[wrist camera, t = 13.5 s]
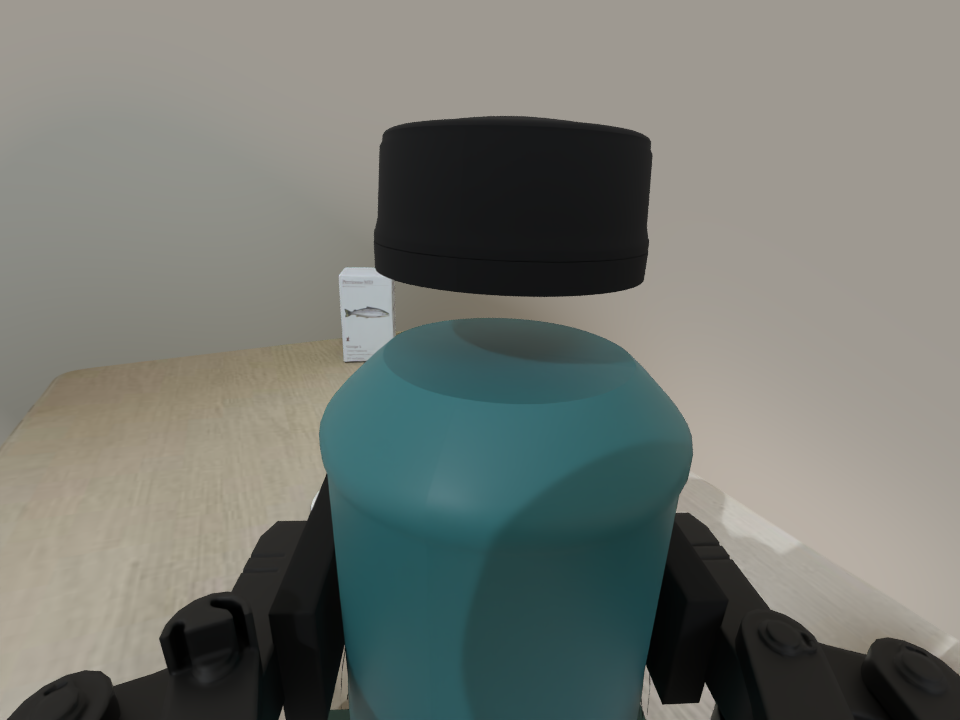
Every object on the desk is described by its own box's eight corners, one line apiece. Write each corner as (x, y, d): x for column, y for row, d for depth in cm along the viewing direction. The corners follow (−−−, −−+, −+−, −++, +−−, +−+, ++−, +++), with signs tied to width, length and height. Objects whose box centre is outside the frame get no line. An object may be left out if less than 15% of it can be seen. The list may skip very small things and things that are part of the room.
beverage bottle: (625, 1080, 11) (984, 81, 4) (334, 1086, 10) (127, 45, 3) (569, 754, 17) (664, 147, 10) (384, 754, 17) (346, 135, 10)
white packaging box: (342, 363, 66) (335, 274, 62) (350, 346, 73) (344, 266, 69) (395, 362, 67) (392, 275, 63) (397, 346, 74) (394, 266, 70)
